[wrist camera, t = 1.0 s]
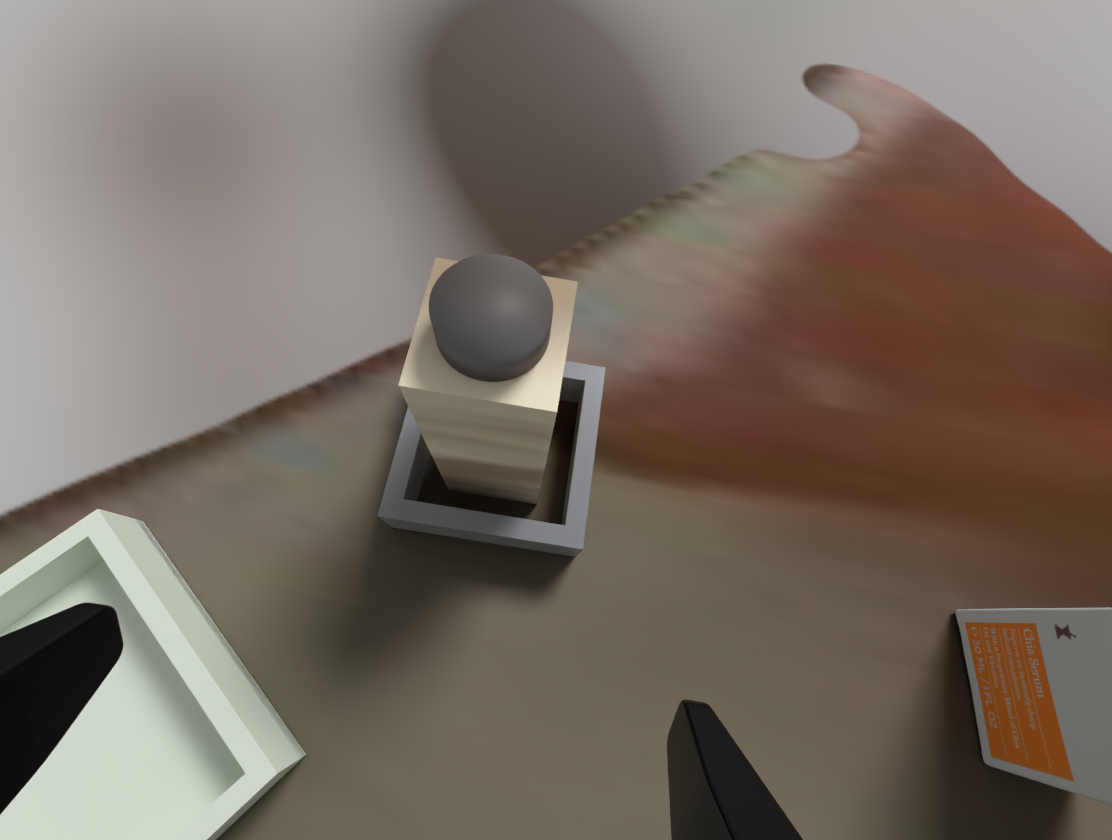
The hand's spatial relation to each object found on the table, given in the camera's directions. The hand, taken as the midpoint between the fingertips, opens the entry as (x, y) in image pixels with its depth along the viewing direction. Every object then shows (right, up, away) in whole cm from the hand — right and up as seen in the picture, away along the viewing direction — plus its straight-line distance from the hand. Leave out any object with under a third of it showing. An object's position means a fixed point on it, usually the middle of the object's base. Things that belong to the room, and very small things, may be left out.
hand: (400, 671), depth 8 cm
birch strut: (0, +2, +15) cm, 16 cm away
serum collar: (0, +2, +15) cm, 16 cm away
